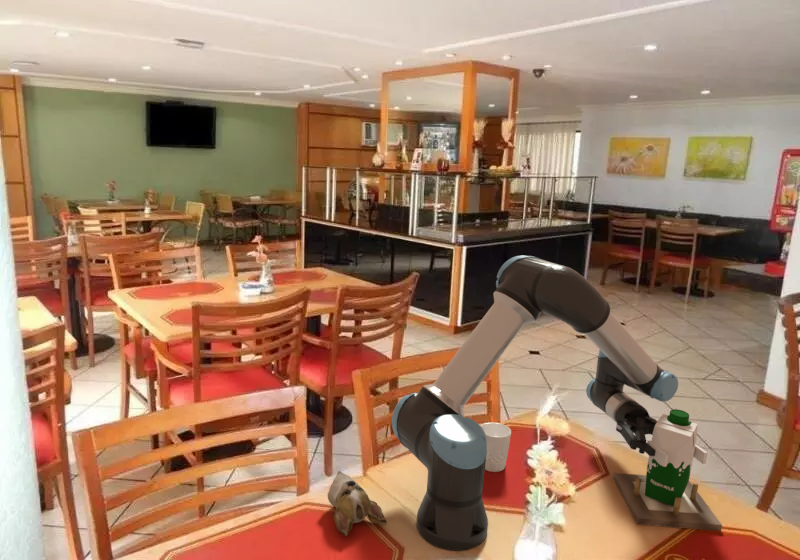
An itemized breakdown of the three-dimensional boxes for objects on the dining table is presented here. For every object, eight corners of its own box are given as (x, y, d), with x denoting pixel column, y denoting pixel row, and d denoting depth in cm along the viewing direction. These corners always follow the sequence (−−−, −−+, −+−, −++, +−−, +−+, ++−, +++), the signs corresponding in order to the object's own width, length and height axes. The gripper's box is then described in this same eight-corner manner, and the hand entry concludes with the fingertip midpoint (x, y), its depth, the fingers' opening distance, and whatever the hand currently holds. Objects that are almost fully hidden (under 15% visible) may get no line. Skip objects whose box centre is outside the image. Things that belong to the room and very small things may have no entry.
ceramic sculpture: (360, 459, 131) (391, 498, 119) (359, 491, 134) (388, 533, 121) (316, 470, 126) (343, 512, 113) (315, 503, 128) (342, 548, 116)
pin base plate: (637, 524, 126) (640, 502, 125) (612, 478, 144) (615, 458, 143) (721, 530, 126) (725, 508, 124) (686, 483, 143) (689, 464, 142)
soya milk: (688, 493, 135) (702, 415, 131) (680, 511, 128) (694, 429, 124) (649, 479, 140) (662, 404, 136) (639, 496, 133) (652, 417, 129)
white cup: (471, 466, 146) (474, 430, 144) (485, 453, 153) (488, 419, 150) (499, 477, 142) (503, 440, 140) (512, 463, 148) (516, 428, 146)
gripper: (662, 424, 152) (725, 471, 130) (587, 428, 147) (639, 478, 126) (667, 398, 150) (731, 441, 129) (590, 401, 146) (644, 447, 124)
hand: (685, 459), depth 127 cm, fingers open, 9 cm apart
